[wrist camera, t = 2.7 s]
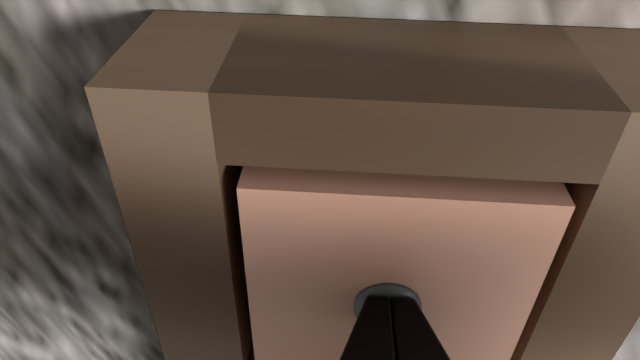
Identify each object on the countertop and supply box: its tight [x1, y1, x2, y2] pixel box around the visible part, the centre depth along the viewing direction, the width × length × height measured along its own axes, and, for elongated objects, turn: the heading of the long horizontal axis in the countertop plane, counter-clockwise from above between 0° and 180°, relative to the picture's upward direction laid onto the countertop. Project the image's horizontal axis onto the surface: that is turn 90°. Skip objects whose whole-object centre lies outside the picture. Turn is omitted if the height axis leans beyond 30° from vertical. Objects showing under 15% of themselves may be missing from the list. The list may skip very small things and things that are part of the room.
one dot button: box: [236, 166, 576, 360], centre depth 10 cm, size 5×5×3 cm
